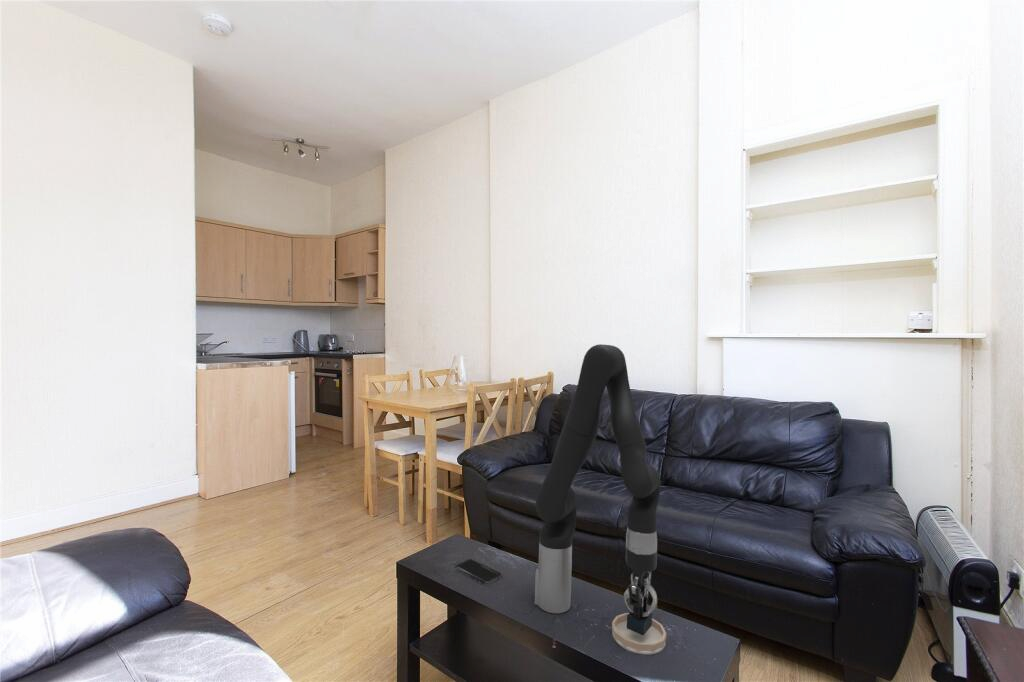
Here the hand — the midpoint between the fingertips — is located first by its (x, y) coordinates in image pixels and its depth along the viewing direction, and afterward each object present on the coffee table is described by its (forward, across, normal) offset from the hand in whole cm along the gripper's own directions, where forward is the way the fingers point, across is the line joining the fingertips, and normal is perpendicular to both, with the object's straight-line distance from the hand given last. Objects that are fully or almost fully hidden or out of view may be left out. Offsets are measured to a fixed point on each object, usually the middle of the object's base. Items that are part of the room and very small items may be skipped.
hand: (639, 615), depth 112 cm
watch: (+3, 0, 0) cm, 3 cm away
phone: (+6, -4, -52) cm, 53 cm away
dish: (+5, 0, 0) cm, 5 cm away
